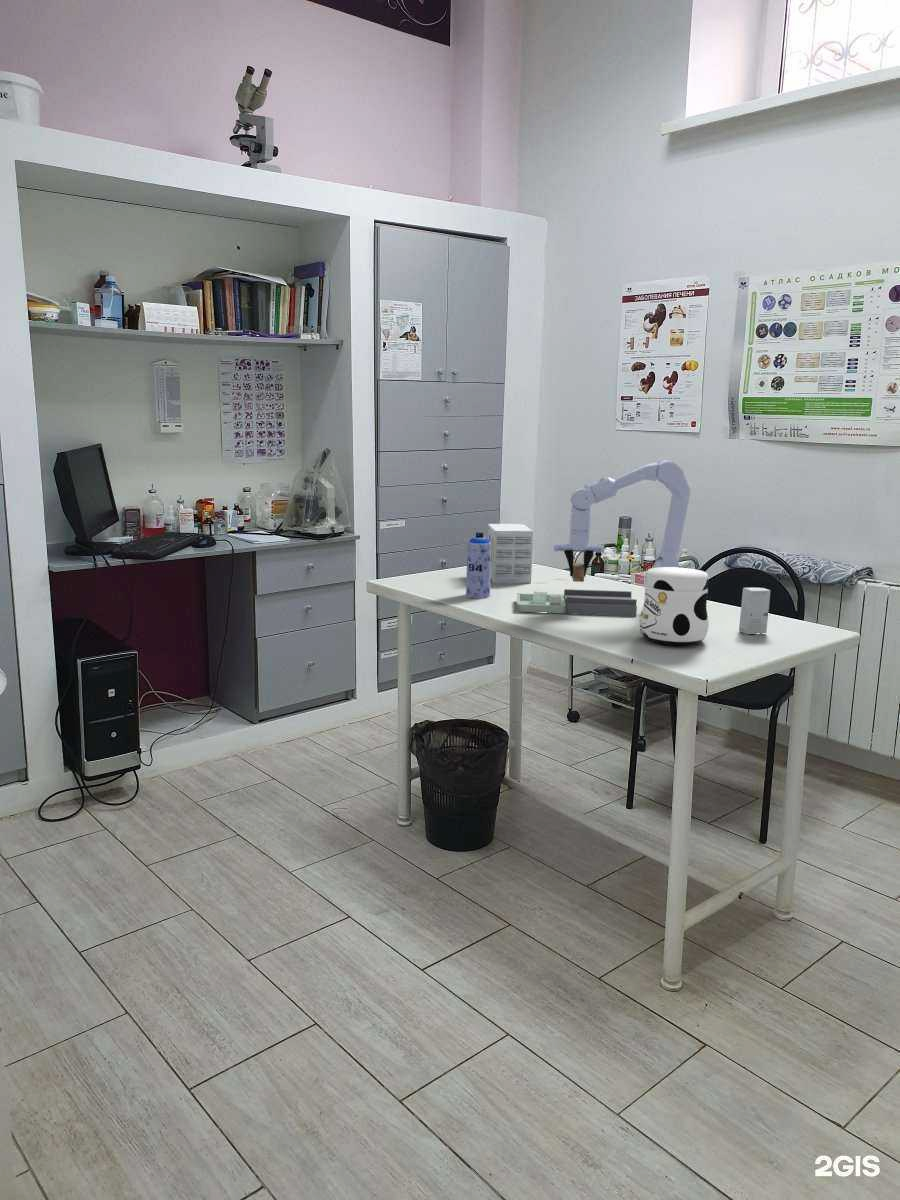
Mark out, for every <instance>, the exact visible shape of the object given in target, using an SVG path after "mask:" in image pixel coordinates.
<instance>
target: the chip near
mask: <svg viewBox="0 0 900 1200" xmlns="http://www.w3.org/2000/svg"><path fill="white" fill-rule="evenodd" d="M549 594H550V597H549V605H560V604H561V596H560V595H561V594H559V593H549Z"/></svg>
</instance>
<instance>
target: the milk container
mask: <svg viewBox="0 0 900 1200" xmlns="http://www.w3.org/2000/svg"><path fill="white" fill-rule="evenodd" d="M708 588H709V573H708V572H706V571H704V570H701V569H700V570H699V569H696V568H695V569H694V568H689V567H688V568H687V567H680V566H679V567H656V568H653V567H652V568H649V569H647V571H646V574H645V586H644V602H643V606H642V609H641V612H640V615H639V619H638V620H639V622H638V623H639V632H640V634H641V635H642V636H643V637H644V638H646V639H647V640H650V641H651V642H656V643H660V644H666V645H673V646H675V645H676V646H685V645H693V644H697V643H701V642H702V641H704V639H706V637H707V635H708V631H709V622H710V621H709V616H708V610H707V602H708V601H707V600H708V592H709V589H708Z"/></svg>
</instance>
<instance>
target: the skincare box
mask: <svg viewBox="0 0 900 1200" xmlns="http://www.w3.org/2000/svg"><path fill="white" fill-rule="evenodd" d="M770 600H771V590H770V589H767V588H765V587H743V588H742V596H741V605H740V615H739V616H740V618H739V627H738V631H739V632H740V631H741V632H743V633H745V634H744V635H746V634H755V635H758V634H757V633H766V634H767V631H768V630H767V629H768V622H769V621H768V620H769V610H770ZM741 632H740V633H741ZM743 633H742V634H743Z"/></svg>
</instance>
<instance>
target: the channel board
mask: <svg viewBox="0 0 900 1200" xmlns="http://www.w3.org/2000/svg"><path fill="white" fill-rule="evenodd" d="M563 596H564V600H565V603H566V613H578V614H577V615H586V614H601V615H600V616H616V615H617V616H618V617H619V616H620V617H621V616H622V617H623V616H624V617H637V611H638V609H637V608H638V606H637V599H636V598H633V597H632V591H631V590H630V591H629V590H628V591H627V590H603V589H601V590H599V589H574V588H573V589H567V588H565V589H563Z"/></svg>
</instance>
